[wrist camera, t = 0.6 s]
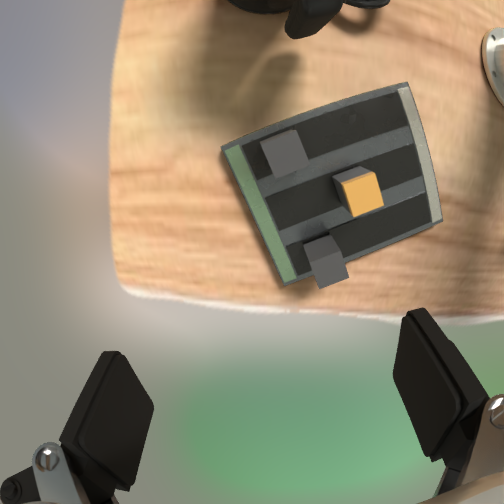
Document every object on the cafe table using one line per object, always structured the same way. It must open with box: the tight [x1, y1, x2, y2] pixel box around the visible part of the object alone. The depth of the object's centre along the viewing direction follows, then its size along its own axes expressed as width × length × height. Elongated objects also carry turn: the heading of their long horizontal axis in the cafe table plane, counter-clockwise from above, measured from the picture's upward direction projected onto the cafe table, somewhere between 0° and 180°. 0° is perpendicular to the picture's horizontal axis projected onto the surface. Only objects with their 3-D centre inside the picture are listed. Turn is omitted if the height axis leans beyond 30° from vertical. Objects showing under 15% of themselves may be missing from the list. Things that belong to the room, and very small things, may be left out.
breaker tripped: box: [332, 166, 384, 217], centre depth 25 cm, size 3×3×4 cm
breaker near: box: [260, 129, 310, 179], centre depth 24 cm, size 3×3×4 cm
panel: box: [221, 82, 443, 286], centre depth 28 cm, size 20×16×2 cm
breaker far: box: [303, 234, 349, 289], centre depth 28 cm, size 3×3×4 cm
